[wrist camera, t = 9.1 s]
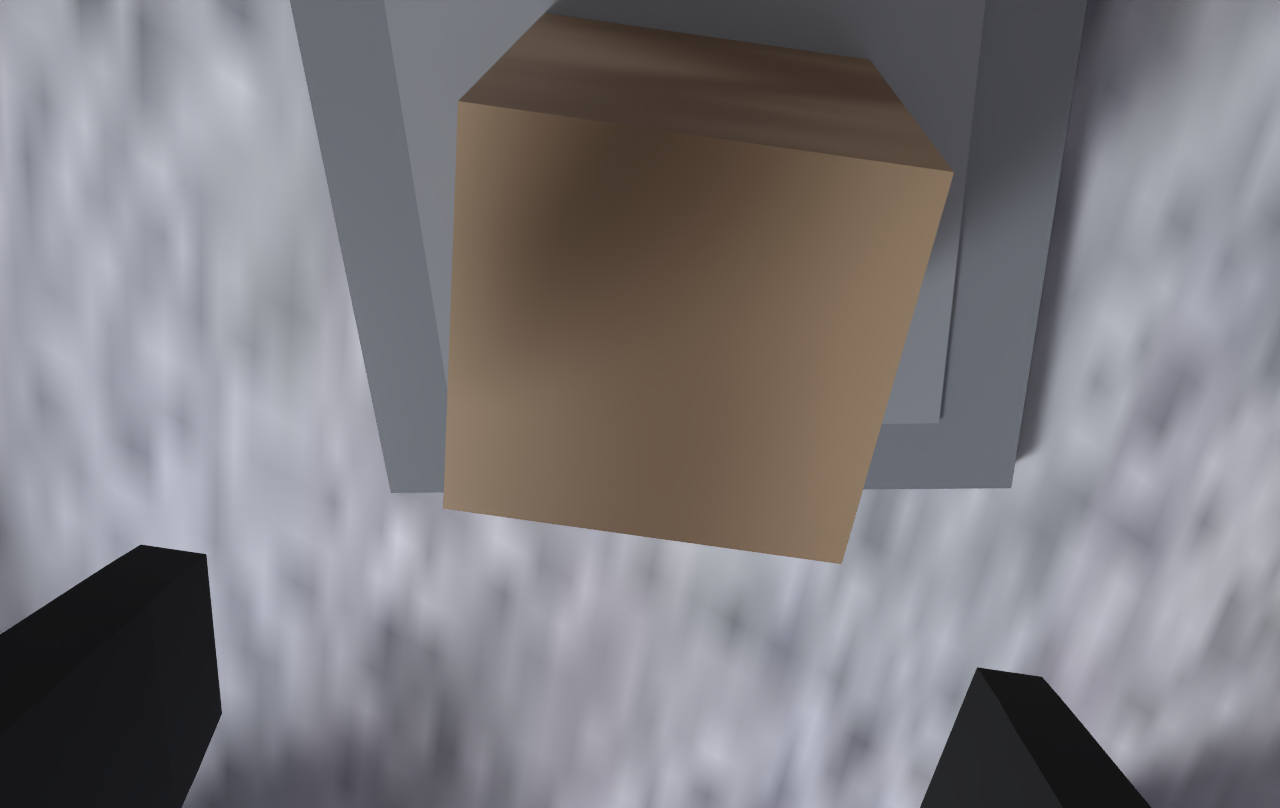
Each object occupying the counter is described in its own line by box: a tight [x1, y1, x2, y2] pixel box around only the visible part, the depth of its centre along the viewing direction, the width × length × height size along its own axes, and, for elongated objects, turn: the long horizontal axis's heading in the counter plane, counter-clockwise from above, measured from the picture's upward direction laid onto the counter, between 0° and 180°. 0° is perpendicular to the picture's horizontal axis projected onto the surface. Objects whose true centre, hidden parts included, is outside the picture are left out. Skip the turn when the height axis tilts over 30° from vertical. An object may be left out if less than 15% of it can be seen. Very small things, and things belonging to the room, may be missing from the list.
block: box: [443, 13, 954, 564], centre depth 14 cm, size 5×5×6 cm
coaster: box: [290, 0, 1088, 493], centre depth 17 cm, size 12×12×1 cm
